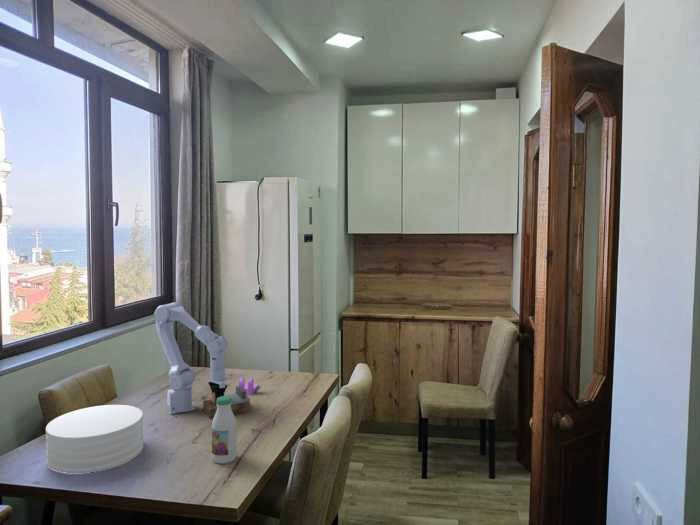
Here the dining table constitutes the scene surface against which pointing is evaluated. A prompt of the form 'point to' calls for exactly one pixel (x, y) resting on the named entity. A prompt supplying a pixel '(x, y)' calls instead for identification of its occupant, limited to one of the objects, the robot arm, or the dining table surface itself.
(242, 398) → the lid
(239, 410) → the brown tray
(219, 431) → the milk bottle
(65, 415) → the plate stack
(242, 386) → the bracket
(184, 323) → the robot arm
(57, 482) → the dining table surface
